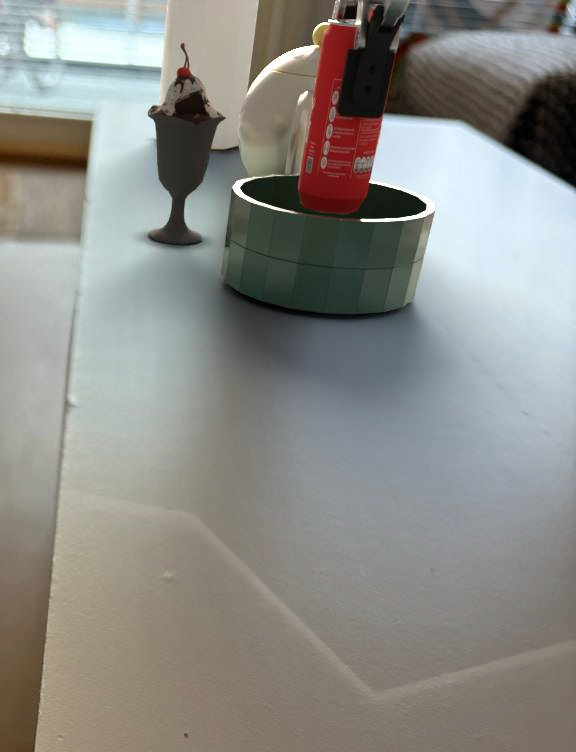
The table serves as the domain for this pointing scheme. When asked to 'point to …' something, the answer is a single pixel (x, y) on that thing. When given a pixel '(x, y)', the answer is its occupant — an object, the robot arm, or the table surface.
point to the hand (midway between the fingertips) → (349, 106)
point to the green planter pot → (325, 247)
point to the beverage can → (336, 135)
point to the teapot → (280, 112)
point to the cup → (212, 55)
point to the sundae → (183, 148)
